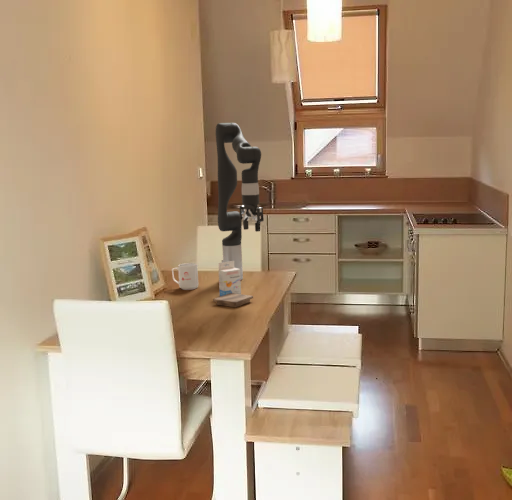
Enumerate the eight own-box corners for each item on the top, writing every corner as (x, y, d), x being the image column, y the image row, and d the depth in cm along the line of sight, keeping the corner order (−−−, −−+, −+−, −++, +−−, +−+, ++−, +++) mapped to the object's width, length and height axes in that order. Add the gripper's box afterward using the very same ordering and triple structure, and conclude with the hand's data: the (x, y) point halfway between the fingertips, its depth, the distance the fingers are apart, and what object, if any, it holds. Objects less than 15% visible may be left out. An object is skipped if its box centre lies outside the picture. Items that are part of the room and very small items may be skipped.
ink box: (225, 297, 294) (223, 264, 292) (219, 295, 299) (217, 263, 296) (241, 294, 299) (240, 261, 297) (235, 292, 303) (234, 260, 301)
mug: (199, 285, 321) (198, 262, 319) (197, 290, 312) (195, 266, 310) (174, 286, 321) (173, 263, 320) (171, 290, 313) (169, 267, 311)
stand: (213, 304, 283) (213, 299, 283) (230, 298, 293) (230, 293, 292) (236, 308, 276) (235, 302, 276) (253, 301, 286) (253, 295, 285)
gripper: (233, 193, 297) (235, 229, 300) (253, 195, 285) (254, 233, 288) (247, 191, 301) (249, 227, 304) (267, 193, 290) (268, 230, 293)
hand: (251, 230), depth 296 cm, fingers open, 8 cm apart
